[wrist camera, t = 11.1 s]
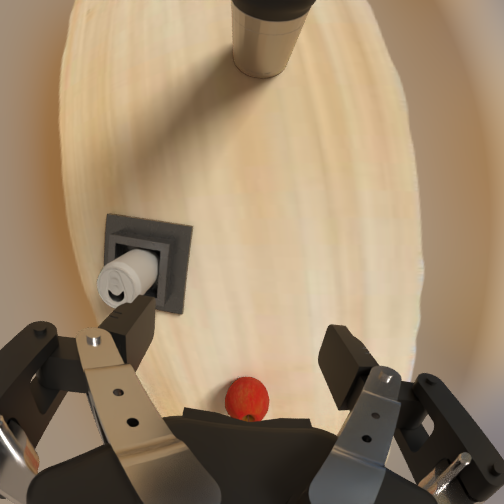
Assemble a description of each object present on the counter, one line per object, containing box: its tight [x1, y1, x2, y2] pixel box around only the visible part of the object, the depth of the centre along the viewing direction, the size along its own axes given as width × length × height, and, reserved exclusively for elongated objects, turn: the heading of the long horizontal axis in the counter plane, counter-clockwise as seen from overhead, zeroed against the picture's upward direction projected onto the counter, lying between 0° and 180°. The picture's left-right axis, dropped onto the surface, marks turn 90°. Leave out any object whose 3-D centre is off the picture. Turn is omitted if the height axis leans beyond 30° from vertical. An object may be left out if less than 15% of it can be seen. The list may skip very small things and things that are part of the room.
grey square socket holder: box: [104, 214, 193, 314], centre depth 41 cm, size 15×15×4 cm
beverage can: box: [97, 247, 160, 309], centre depth 37 cm, size 6×6×12 cm
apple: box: [225, 377, 269, 422], centre depth 44 cm, size 8×8×11 cm
